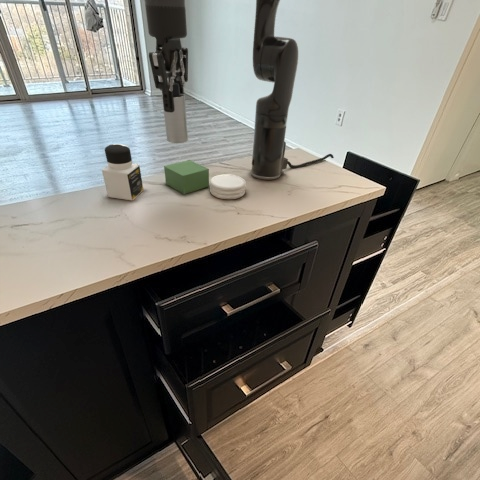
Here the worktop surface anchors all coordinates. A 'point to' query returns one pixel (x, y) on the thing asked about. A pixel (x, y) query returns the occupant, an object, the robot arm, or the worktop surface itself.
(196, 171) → the block
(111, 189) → the medicine bottle
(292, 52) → the robot arm
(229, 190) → the white short cylinder
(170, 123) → the flask
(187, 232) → the worktop surface
